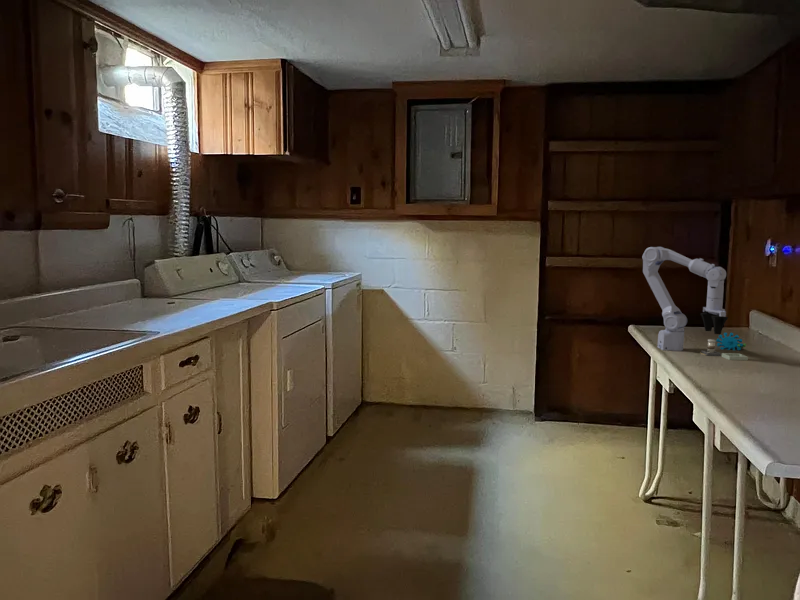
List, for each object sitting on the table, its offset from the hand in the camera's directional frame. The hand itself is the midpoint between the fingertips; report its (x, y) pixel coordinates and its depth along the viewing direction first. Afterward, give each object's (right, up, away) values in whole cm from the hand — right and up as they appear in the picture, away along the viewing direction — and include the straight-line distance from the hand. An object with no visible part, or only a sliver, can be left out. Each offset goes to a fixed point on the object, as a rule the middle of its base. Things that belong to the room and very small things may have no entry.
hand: (712, 332), depth 265 cm
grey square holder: (0, -10, +1) cm, 10 cm away
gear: (+14, -9, +15) cm, 22 cm away
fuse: (0, -9, +1) cm, 9 cm away
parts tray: (+6, -11, -5) cm, 13 cm away
